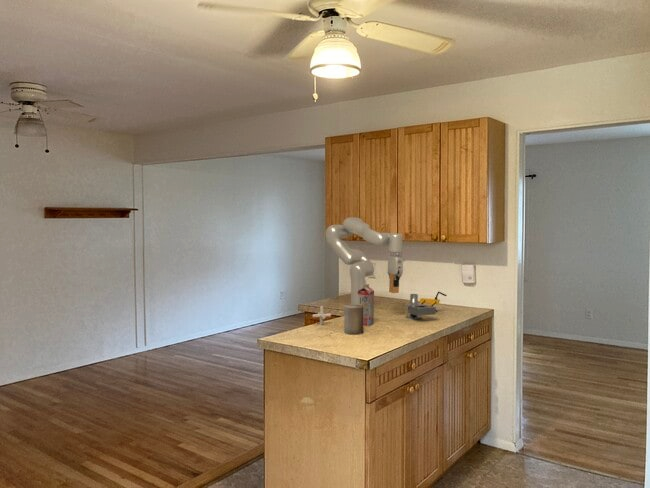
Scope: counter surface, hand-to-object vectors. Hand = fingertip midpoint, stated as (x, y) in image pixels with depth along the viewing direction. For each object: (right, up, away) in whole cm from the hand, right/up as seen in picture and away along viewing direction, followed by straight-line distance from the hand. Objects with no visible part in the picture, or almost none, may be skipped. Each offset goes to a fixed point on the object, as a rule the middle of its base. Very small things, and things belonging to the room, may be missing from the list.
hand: (394, 285), depth 292 cm
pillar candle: (-26, -21, -37) cm, 50 cm away
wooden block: (0, -4, 0) cm, 4 cm away
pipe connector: (-42, -20, -18) cm, 50 cm away
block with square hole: (+14, -19, 0) cm, 24 cm away
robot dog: (+27, -19, +23) cm, 41 cm away
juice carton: (-18, -20, -17) cm, 32 cm away
